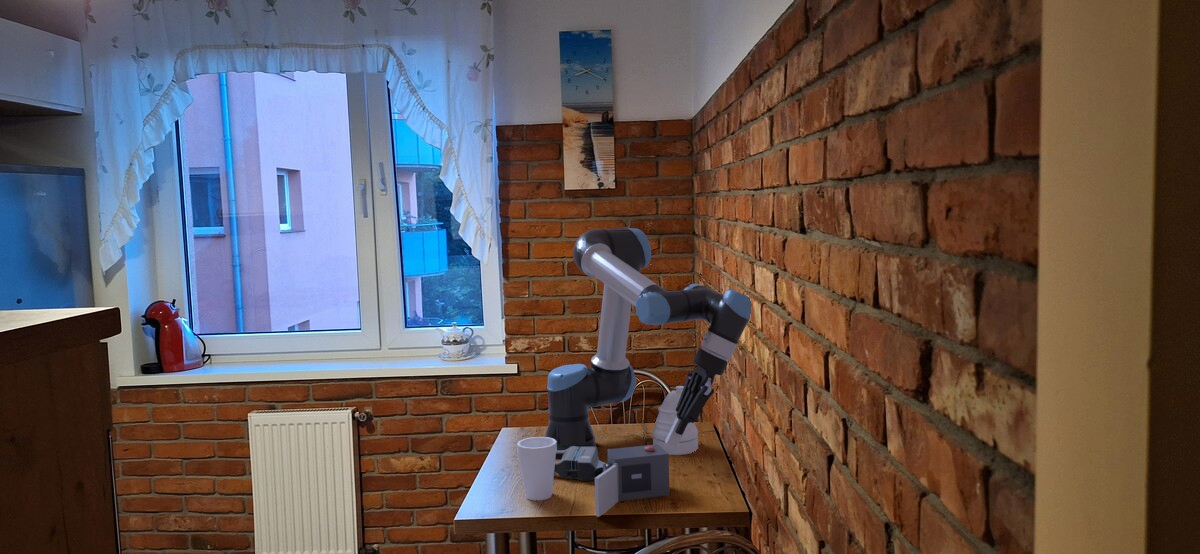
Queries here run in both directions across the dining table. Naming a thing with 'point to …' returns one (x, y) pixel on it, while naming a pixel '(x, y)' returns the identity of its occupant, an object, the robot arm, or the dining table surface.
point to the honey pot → (666, 422)
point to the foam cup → (537, 466)
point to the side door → (606, 489)
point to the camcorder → (578, 463)
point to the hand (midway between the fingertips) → (670, 444)
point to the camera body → (640, 471)
